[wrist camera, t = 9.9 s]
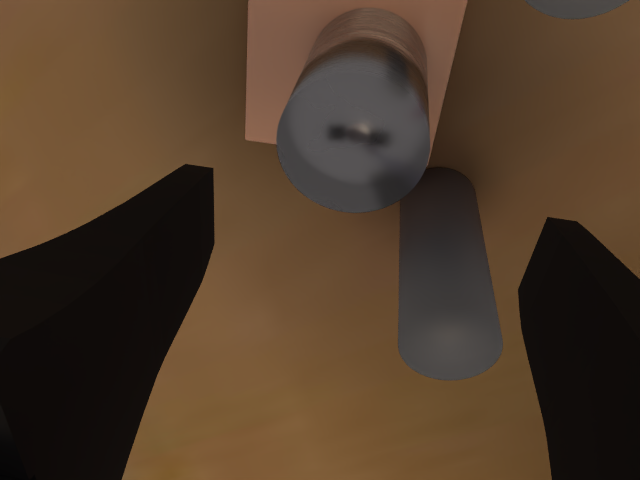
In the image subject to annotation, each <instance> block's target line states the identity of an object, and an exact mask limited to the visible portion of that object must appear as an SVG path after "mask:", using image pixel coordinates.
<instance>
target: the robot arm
mask: <svg viewBox="0 0 640 480" xmlns="http://www.w3.org/2000/svg"><path fill="white" fill-rule="evenodd" d="M213 246H214V184H213V168H209V167H202V166H195V165H188V164H185V165H183V166H182V167H180V168H178V169H176V170H175V171H173V172H172V173H170V174H169V175H167V176H165V177H164V178H162V179H161V180H159V181H158V182H156V183H155V184H153V185H152V186H150V187H148V188H147V189H145V190H144V191H142V192H140V193H139V194H137V195H136V196H134V197H132V198H131V199H129V200H128V201H126V202H124V203H123V204H121V205H119V206H117V207H115V208H114V209H112V210H110V211H108V212H106V213H105V214H103V215H101V216H99V217H97V218H96V219H94V220H92V221H90V222H88V223H86V224H84V225H82V226H80V227H78V228H76V229H74V230H72V231H70V232H68V233H66V234H63V235H61V236H59V237H56V238H54V239H52V240H49V241H47V242H45V243H42V244H40V245H37V246H35V247H32V248H29V249H26V250H23V251H21V252H18V253H15V254H12V255H9V256H6V257H3V258H1V259H0V480H122V477H123V473H124V470H125V467H126V464H127V461H128V458H129V455H130V452H131V449H132V446H133V443H134V440H135V437H136V434H137V431H138V428H139V425H140V422H141V419H142V416H143V413H144V410H145V408H146V405H147V402H148V399H149V396H150V394H151V391H152V388H153V385H154V382H155V380H156V377H157V374H158V372H159V370H160V368H161V365H162V363H163V361H164V358H165V356H166V354H167V352H168V350H169V348H170V346H171V344H172V342H173V340H174V338H175V336H176V334H177V332H178V330H179V328H180V326H181V324H182V322H183V320H184V318H185V316H186V314H187V312H188V310H189V308H190V305H191V303H192V301H193V299H194V297H195V295H196V293H197V291H198V289H199V287H200V285H201V283H202V280H203V277H204V275H205V272H206V269H207V266H208V263H209V259H210V256H211V253H212V250H213ZM518 295H519V310H520V320H521V330H522V334H523V339H524V343H525V347H526V351H527V356H528V360H529V364H530V368H531V372H532V376H533V380H534V384H535V388H536V392H537V396H538V400H539V404H540V408H541V413H542V417H543V421H544V426H545V431H546V437H547V443H548V451H549V459H550V467H551V475H552V480H640V279H639V278H638V277H637V276H636V275H634V274H633V273H632V272H631V271H630V270H629V269H628V268H627V267H626V266H625V265H624V264H623V263H622V262H621V261H620V260H619V259H617V258H616V257H615V256H614V255H613V254H612V253H611V252H610V251H609V250H608V249H607V248H606V247H605V246H604V245H603V244H602V243H601V242H600V241H599V240H597V239H596V238H595V237H594V236H593V235H592V234H591V233H590V232H589V231H588V230H587V229H585V228H584V227H583V226H582V225H581V224H579V223H578V222H577V221H571V220H564V219H557V218H550V217H547V219H546V222H545V224H544V227H543V229H542V232H541V234H540V237H539V239H538V242H537V244H536V247H535V249H534V251H533V254H532V256H531V259H530V261H529V264H528V266H527V269H526V271H525V274H524V276H523V279H522V281H521V283H520V286H519V288H518Z"/></svg>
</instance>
